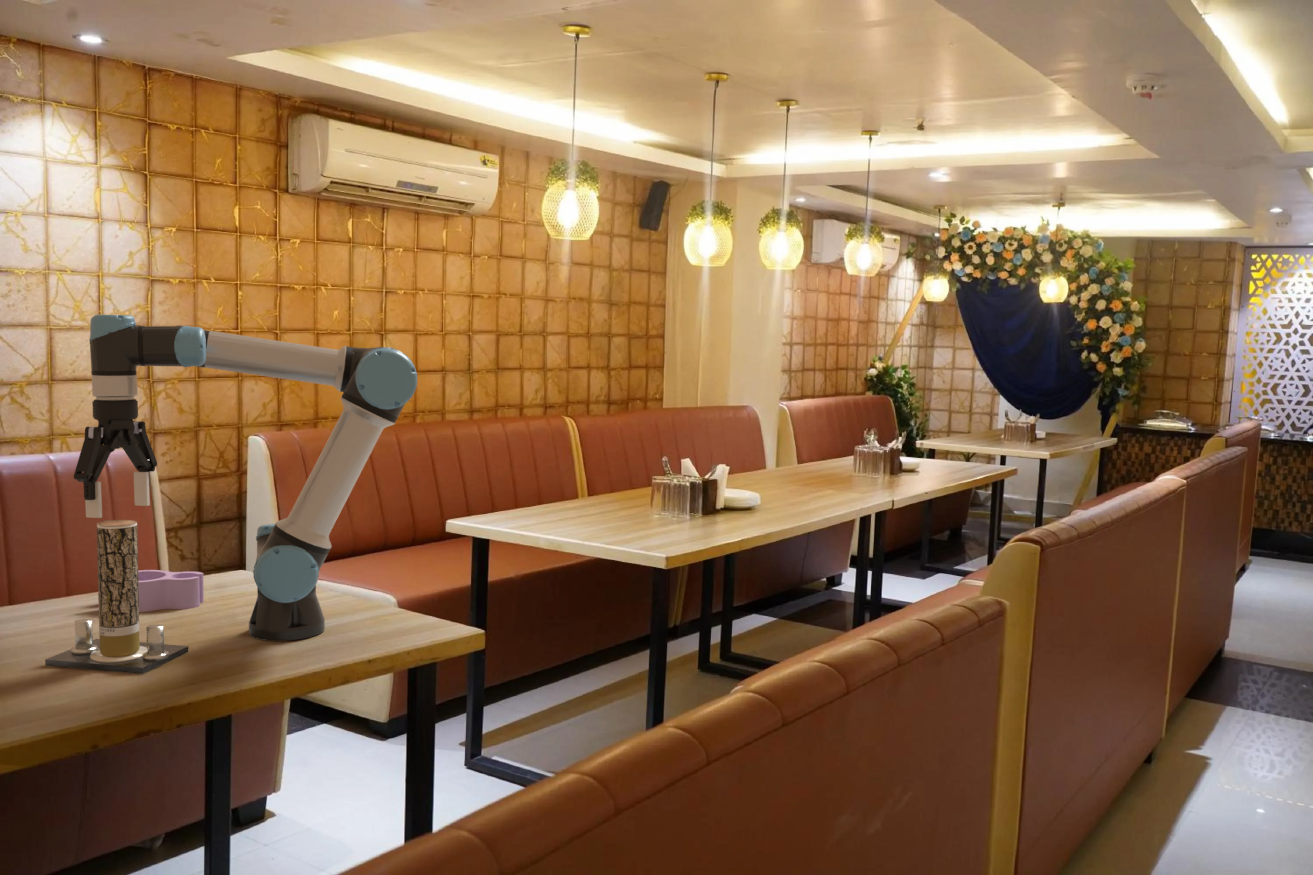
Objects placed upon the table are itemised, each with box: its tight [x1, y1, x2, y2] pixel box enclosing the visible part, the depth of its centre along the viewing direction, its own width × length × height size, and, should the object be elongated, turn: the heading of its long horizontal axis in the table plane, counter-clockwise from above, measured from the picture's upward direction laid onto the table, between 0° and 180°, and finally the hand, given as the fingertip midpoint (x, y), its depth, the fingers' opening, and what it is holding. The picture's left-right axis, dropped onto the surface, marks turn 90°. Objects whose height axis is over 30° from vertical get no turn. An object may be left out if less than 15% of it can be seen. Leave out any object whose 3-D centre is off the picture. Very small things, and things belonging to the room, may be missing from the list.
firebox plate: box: [44, 638, 189, 675], centre depth 203 cm, size 20×14×1 cm
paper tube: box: [96, 519, 141, 657], centre depth 200 cm, size 7×7×25 cm
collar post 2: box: [143, 623, 169, 661], centre depth 200 cm, size 4×4×6 cm
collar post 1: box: [70, 618, 97, 655], centre depth 203 cm, size 4×4×6 cm
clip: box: [138, 569, 205, 613], centre depth 242 cm, size 20×12×7 cm, turn 99°
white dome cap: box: [90, 646, 147, 663], centre depth 202 cm, size 10×10×1 cm
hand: (119, 511), depth 199 cm, fingers open, 13 cm apart
